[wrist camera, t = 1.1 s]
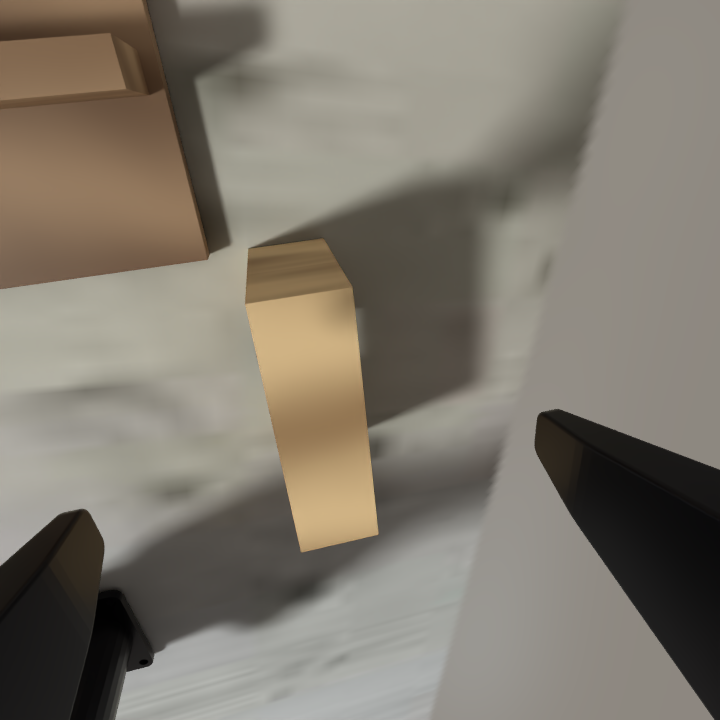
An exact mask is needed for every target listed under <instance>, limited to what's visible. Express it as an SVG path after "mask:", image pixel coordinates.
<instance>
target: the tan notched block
mask: <svg viewBox="0 0 720 720" xmlns="http://www.w3.org/2000/svg"><path fill="white" fill-rule="evenodd" d="M245 305H246V310H247V314H248V319H249V323H250V328H251V332H252V337H253V341H254V345H255V350H256V354H257V359H258V363H259V368H260V372H261V377H262V381H263V385H264V390H265V394H266V399H267V403H268V408H269V412H270V416H271V421H272V425H273V430H274V434H275V439H276V443H277V448H278V452H279V456H280V461H281V465H282V470H283V474H284V479H285V483H286V488H287V492H288V496H289V501H290V505H291V510H292V514H293V519H294V523H295V527H296V532H297V536H298V541H299V545H300V550H301V553H302V552H306V551H310V550H314V549H319V548H323V547H327V546H332V545H336V544H340V543H345V542H349V541H353V540H358V539H362V538H366V537H371V536H375V535H379V534H378V525H377V515H376V506H375V496H374V486H373V477H372V467H371V458H370V448H369V439H368V429H367V420H366V410H365V401H364V391H363V382H362V372H361V363H360V353H359V343H358V334H357V324H356V315H355V305H354V296H353V287H352V285H351V284H350V282H349V280H348V279H347V277H346V275H345V274H344V272H343V270H342V269H341V267H340V265H339V264H338V262H337V260H336V259H335V257H334V255H333V254H332V252H331V250H330V249H329V247H328V245H327V244H326V242H325V240H324V239H323V238H321V239H314V240H307V241H300V242H293V243H286V244H279V245H272V246H265V247H258V248H250V249H248V264H247V282H246V299H245Z"/></svg>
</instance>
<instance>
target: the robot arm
mask: <svg viewBox="0 0 720 720" xmlns="http://www.w3.org/2000/svg"><path fill="white" fill-rule="evenodd" d="M535 450H536V453H537V455H538V457H539V459H540V461H541V463H542V464H543V466H544V468H545V470H546V471H547V473H548V475H549V477H550V479H551V481H552V482H553V484H554V486H555V487H556V490H557V491H558V493H559V495H560V497H561V499H562V500H563V502H564V504H565V506H566V507H567V509H568V511H569V512H570V514H571V516H572V517H573V519H574V520H575V522H576V523H577V525H578V526H579V527H580V529H581V531H582V532H583V533H584V535H585V536H586V538H587V539H588V540H589V542H590V543H591V545H592V546H593V548H594V549H595V550H596V552H597V553H598V555H599V556H600V558H601V559H602V560H603V562H604V563H605V565H606V566H607V567H608V569H609V570H610V572H611V573H612V575H613V576H614V578H615V579H616V580H617V582H618V583H619V584H620V586H621V587H622V589H623V590H624V592H625V593H626V595H627V596H628V597H629V599H630V600H631V602H632V603H633V605H634V606H635V607H636V609H637V610H638V612H639V613H640V614H641V616H642V617H643V619H644V620H645V622H646V623H647V624H648V626H649V627H650V629H651V630H652V632H653V633H654V634H655V636H656V637H657V639H658V640H659V642H660V643H661V644H662V646H663V647H664V649H665V650H666V652H667V653H668V654H669V656H670V657H671V658H672V660H673V661H674V663H675V664H676V666H677V667H678V669H679V670H680V671H681V673H682V674H683V676H684V677H685V679H686V680H687V681H688V683H689V684H690V685H691V687H692V689H693V690H694V691H695V693H696V694H697V696H698V697H699V698H700V700H701V701H702V703H703V704H704V706H705V707H706V708H707V710H708V711H709V713H710V714H711V715H712V717H713V718H714V720H720V470H719V469H716V468H714V467H711V466H708V465H705V464H703V463H700V462H698V461H695V460H692V459H690V458H687V457H684V456H682V455H679V454H676V453H674V452H671V451H669V450H666V449H663V448H661V447H658V446H655V445H652V444H650V443H647V442H645V441H642V440H639V439H637V438H634V437H632V436H629V435H626V434H624V433H621V432H618V431H616V430H613V429H610V428H608V427H605V426H602V425H600V424H597V423H594V422H592V421H589V420H587V419H584V418H581V417H578V416H576V415H573V414H571V413H568V412H565V411H563V410H560V409H554V410H549V411H545V412H541V413H540V414H539V415H538V417H537V425H536V434H535ZM103 558H104V541H103V538H102V536H101V534H100V532H99V530H98V528H97V526H96V524H95V522H94V520H93V519H92V517H91V515H90V513H89V512H88V511H87V510H85V509H78V510H73V511H68V512H64V513H61V514H59V515H58V516H57V517H56V518H54V519H53V520H52V521H51V522H50V523H49V524H48V525H46V526H45V527H44V528H43V529H42V530H41V531H40V532H39V533H37V534H36V535H35V536H34V537H33V538H32V539H31V540H29V541H28V542H27V543H26V544H25V545H24V546H23V547H22V548H20V549H19V550H18V551H17V552H16V553H15V554H14V555H12V556H11V557H10V558H9V559H8V560H7V561H6V562H4V563H3V564H2V565H1V566H0V720H115V717H116V713H117V709H118V705H119V700H120V696H121V692H122V688H123V684H124V679H125V675H126V672H128V671H132V670H136V669H140V668H144V667H147V666H150V665H151V664H152V663H153V659H154V652H153V650H152V648H151V646H150V645H149V643H148V641H147V639H146V637H145V635H144V633H143V631H142V629H141V628H140V626H139V624H138V622H137V620H136V618H135V616H134V614H133V612H132V611H131V609H130V607H129V605H128V603H127V601H126V599H125V597H124V595H123V594H122V593H121V592H119V591H116V590H111V591H106V592H102V593H98V591H99V585H100V578H101V571H102V564H103Z"/></svg>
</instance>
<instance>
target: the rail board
mask: <svg viewBox="0 0 720 720" xmlns="http://www.w3.org/2000/svg"><path fill="white" fill-rule="evenodd" d="M209 255H210V254H209V250H208V246H207V242H206V238H205V234H204V230H203V226H202V222H201V218H200V214H199V210H198V206H197V202H196V198H195V194H194V190H193V186H192V182H191V178H190V174H189V170H188V166H187V162H186V158H185V154H184V150H183V146H182V142H181V138H180V134H179V130H178V126H177V122H176V118H175V114H174V110H173V106H172V102H171V98H170V94H169V90H168V86H167V82H166V78H165V74H164V70H163V66H162V62H161V58H160V54H159V50H158V46H157V42H156V38H155V34H154V30H153V26H152V22H151V18H150V14H149V10H148V6H147V2H146V0H0V289H5V288H12V287H19V286H26V285H33V284H40V283H47V282H54V281H61V280H68V279H75V278H82V277H89V276H96V275H103V274H110V273H117V272H124V271H131V270H138V269H145V268H152V267H159V266H166V265H173V264H181V263H188V262H195V261H202V260H208V258H209Z"/></svg>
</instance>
